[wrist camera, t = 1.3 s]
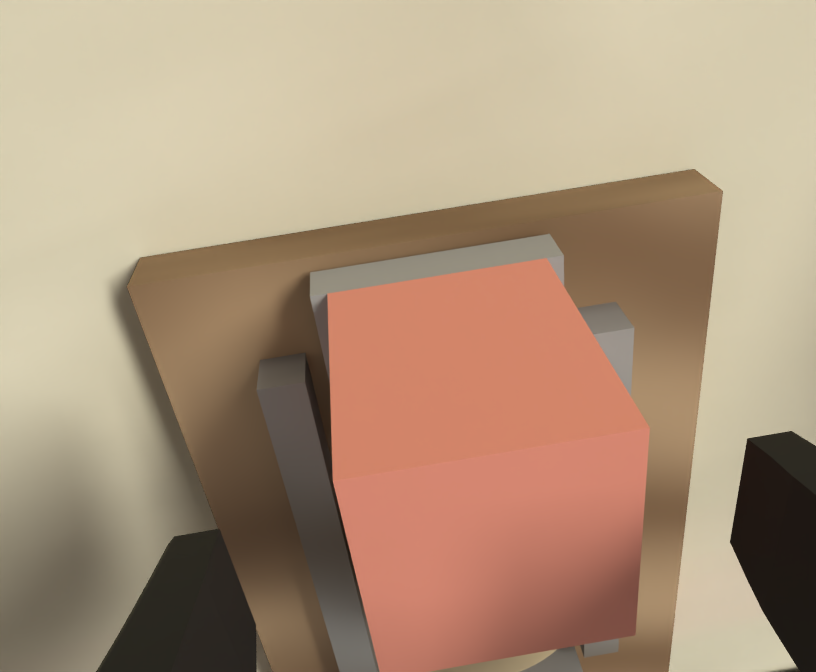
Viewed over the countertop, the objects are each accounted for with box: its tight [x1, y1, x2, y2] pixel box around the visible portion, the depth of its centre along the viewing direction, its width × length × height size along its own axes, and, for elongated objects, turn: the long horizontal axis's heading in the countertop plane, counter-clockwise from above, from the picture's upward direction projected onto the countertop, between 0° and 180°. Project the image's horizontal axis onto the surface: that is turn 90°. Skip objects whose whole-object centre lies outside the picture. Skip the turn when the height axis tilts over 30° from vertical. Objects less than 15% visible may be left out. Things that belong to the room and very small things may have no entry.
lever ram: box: [310, 234, 650, 672], centre depth 12 cm, size 4×4×6 cm
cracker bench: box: [127, 169, 723, 672], centre depth 17 cm, size 15×11×4 cm
